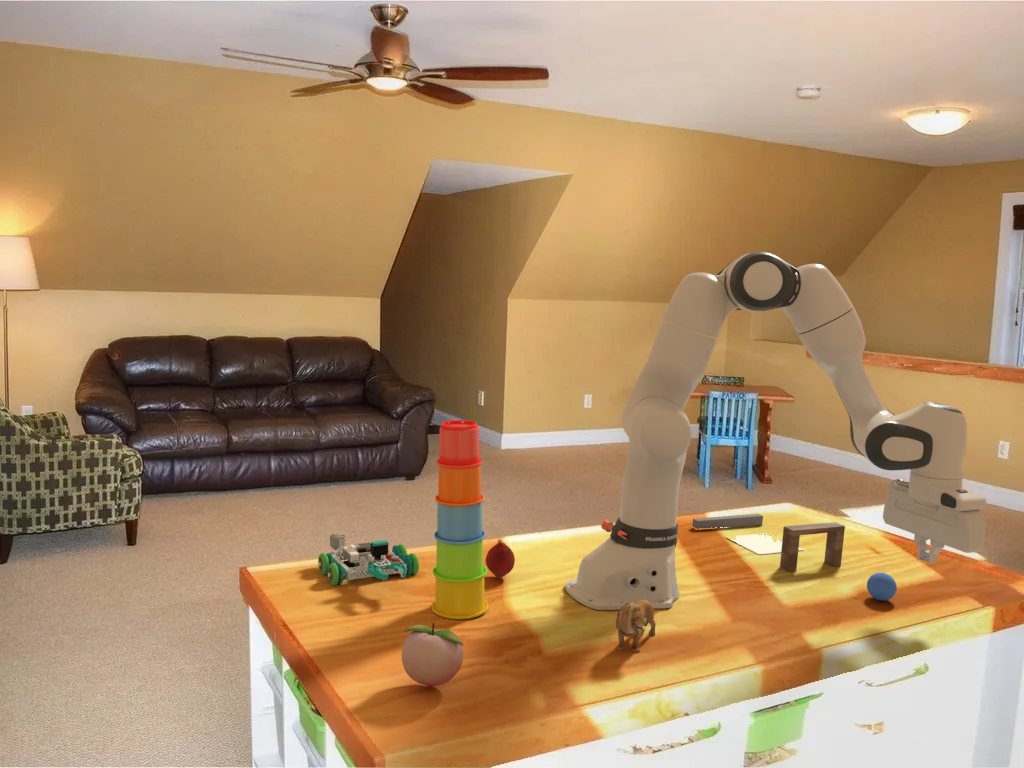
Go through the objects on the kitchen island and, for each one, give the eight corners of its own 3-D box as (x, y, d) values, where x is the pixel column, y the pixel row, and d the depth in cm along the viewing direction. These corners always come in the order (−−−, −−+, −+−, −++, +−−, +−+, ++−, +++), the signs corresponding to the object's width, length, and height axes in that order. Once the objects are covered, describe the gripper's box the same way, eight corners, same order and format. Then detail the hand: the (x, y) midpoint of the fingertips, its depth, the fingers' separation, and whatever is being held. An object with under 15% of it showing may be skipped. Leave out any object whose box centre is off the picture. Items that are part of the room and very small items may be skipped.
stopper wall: (696, 530, 214) (697, 520, 214) (692, 528, 216) (693, 518, 216) (762, 525, 222) (763, 515, 222) (757, 523, 224) (758, 513, 224)
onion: (515, 574, 177) (517, 536, 176) (512, 584, 172) (514, 545, 171) (486, 571, 178) (488, 534, 177) (483, 581, 172) (485, 542, 171)
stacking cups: (474, 624, 151) (484, 430, 147) (421, 613, 155) (429, 423, 150) (496, 604, 161) (505, 421, 156) (445, 594, 164) (453, 415, 160)
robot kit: (351, 612, 155) (353, 561, 154) (311, 567, 176) (312, 522, 175) (446, 597, 164) (448, 549, 163) (396, 556, 186) (398, 514, 184)
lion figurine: (641, 664, 140) (645, 610, 138) (609, 657, 141) (613, 604, 140) (658, 630, 153) (662, 581, 152) (628, 624, 155) (632, 576, 154)
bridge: (840, 565, 193) (845, 526, 192) (789, 571, 188) (793, 530, 186) (831, 561, 196) (835, 522, 195) (779, 566, 190) (783, 526, 189)
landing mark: (759, 554, 198) (759, 554, 198) (724, 537, 210) (724, 536, 210) (804, 550, 203) (804, 549, 203) (767, 533, 215) (767, 533, 215)
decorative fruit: (391, 697, 125) (393, 631, 123) (407, 671, 133) (409, 609, 131) (454, 706, 123) (457, 639, 122) (467, 679, 131) (470, 616, 130)
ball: (880, 606, 170) (883, 579, 169) (859, 596, 175) (862, 569, 174) (901, 603, 172) (904, 576, 171) (880, 593, 177) (882, 567, 177)
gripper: (878, 477, 170) (872, 545, 172) (969, 504, 151) (960, 580, 153) (902, 475, 172) (896, 542, 174) (994, 502, 154) (986, 577, 156)
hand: (927, 560), depth 164 cm, fingers closed
